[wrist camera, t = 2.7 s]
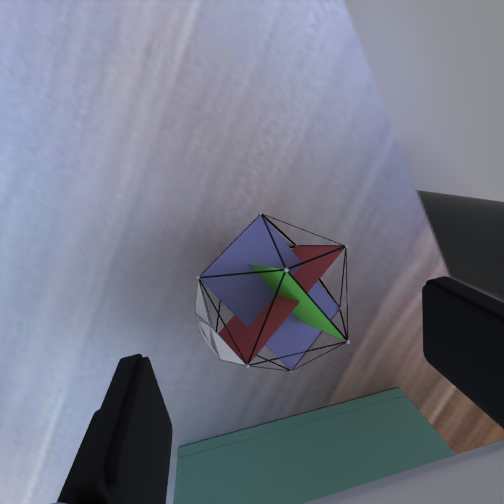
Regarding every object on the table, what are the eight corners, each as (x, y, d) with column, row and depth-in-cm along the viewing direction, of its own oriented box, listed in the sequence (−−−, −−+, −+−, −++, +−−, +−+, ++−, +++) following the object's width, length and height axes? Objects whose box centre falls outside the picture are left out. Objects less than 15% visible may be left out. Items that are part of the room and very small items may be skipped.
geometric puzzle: (313, 163, 14) (255, 279, 9) (388, 266, 16) (380, 414, 11) (217, 226, 19) (138, 328, 13) (285, 300, 21) (241, 417, 15)
